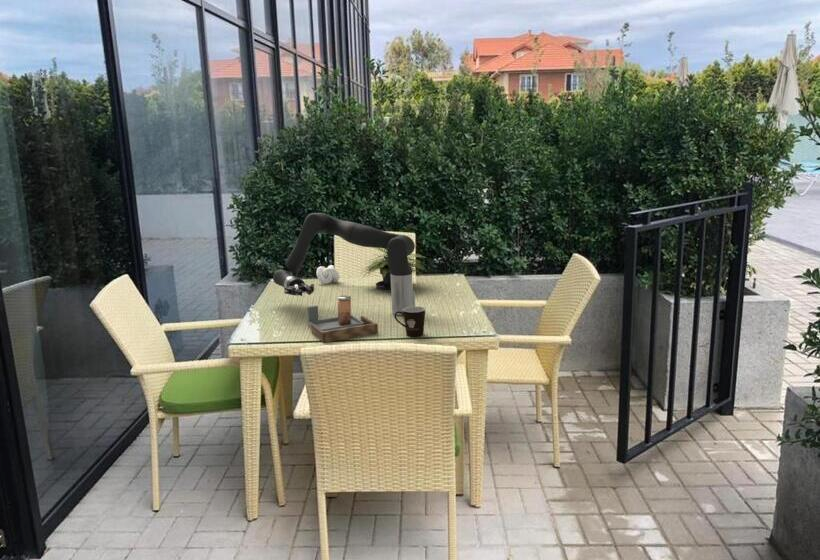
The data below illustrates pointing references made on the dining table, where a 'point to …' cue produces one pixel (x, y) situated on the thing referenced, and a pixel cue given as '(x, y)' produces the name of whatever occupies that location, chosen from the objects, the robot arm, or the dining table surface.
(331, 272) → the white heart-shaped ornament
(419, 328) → the coffee mug
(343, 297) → the tea tin
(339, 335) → the wooden base box
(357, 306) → the dining table surface
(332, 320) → the sliding tray
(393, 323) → the dining table surface
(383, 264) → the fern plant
